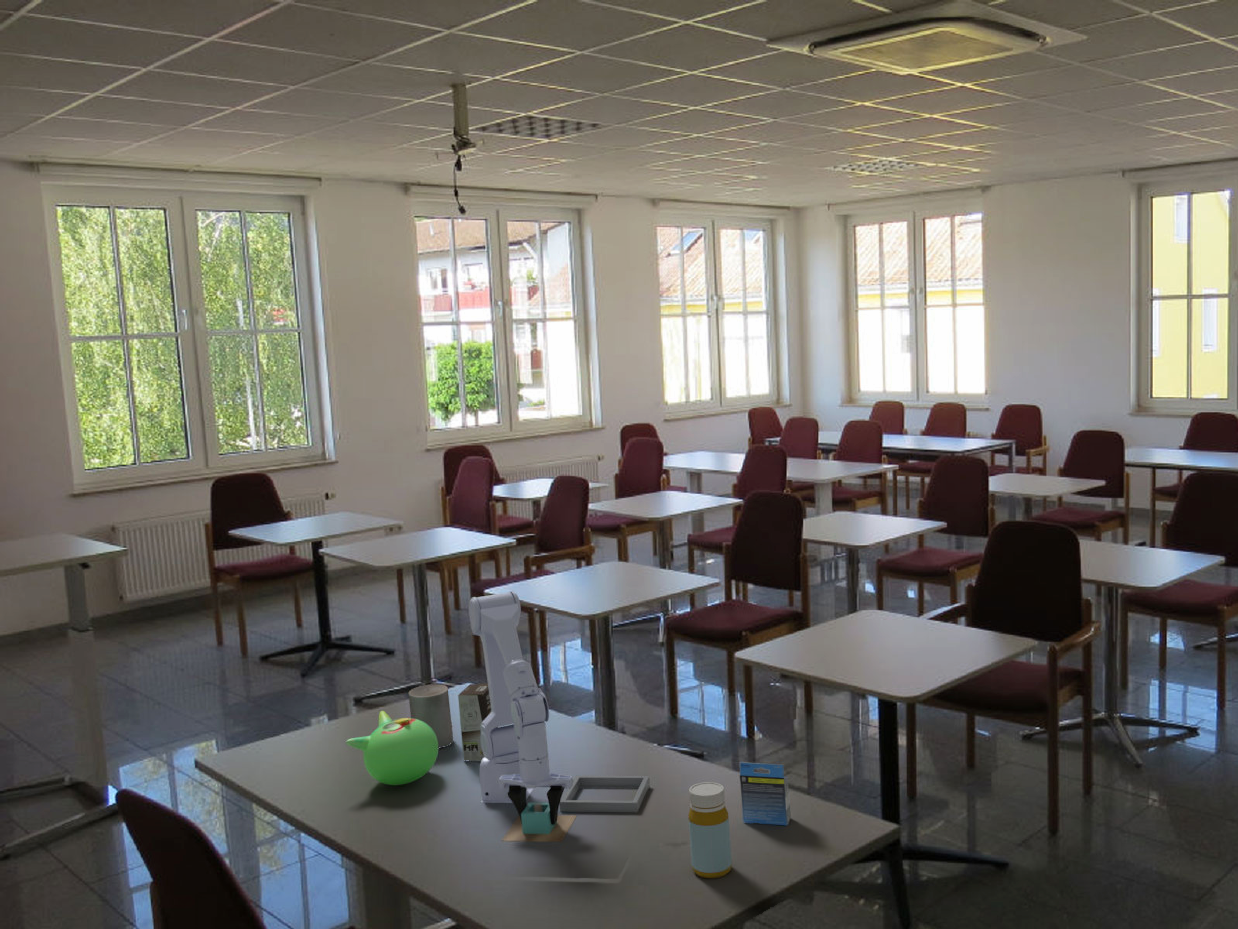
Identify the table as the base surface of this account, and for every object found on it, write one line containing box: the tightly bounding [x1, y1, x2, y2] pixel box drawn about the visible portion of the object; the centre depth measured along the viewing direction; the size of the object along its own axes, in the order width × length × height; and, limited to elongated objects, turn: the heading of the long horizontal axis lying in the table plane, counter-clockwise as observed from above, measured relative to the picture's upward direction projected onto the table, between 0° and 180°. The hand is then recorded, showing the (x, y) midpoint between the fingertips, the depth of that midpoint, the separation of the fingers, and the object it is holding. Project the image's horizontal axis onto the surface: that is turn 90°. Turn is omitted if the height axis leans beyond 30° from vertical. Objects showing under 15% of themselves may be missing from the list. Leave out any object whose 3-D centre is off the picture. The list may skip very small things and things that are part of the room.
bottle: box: [688, 781, 733, 879], centre depth 199 cm, size 7×7×15 cm
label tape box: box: [739, 761, 792, 826], centre depth 218 cm, size 9×4×12 cm, turn 71°
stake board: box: [501, 804, 578, 843], centre depth 222 cm, size 12×12×5 cm
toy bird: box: [345, 710, 439, 786], centre depth 254 cm, size 18×17×15 cm
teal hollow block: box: [521, 802, 557, 834], centre depth 223 cm, size 5×7×4 cm
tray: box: [559, 775, 651, 813], centre depth 235 cm, size 16×14×2 cm
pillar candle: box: [408, 683, 454, 748], centre depth 277 cm, size 10×10×15 cm
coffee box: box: [457, 682, 498, 762], centre depth 267 cm, size 9×6×16 cm
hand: (539, 822), depth 222 cm, fingers closed on teal hollow block, 5 cm apart
